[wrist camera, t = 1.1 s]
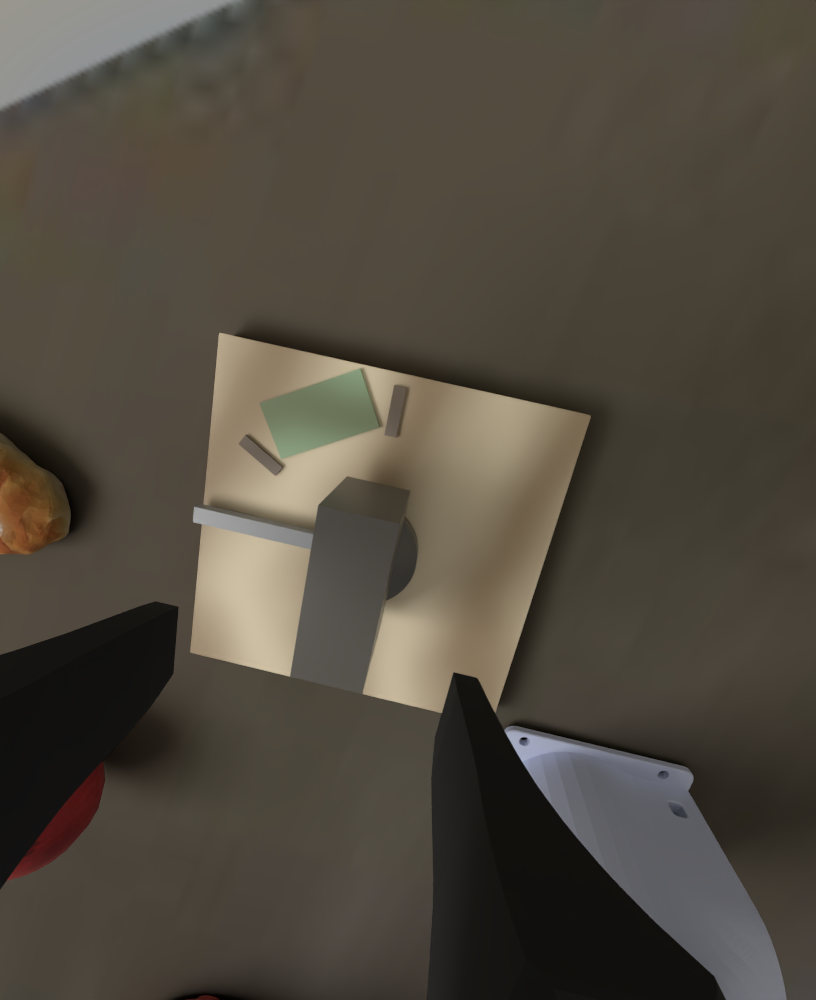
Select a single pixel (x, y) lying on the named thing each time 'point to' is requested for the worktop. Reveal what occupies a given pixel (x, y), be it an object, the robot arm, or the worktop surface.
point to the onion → (64, 825)
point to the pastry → (29, 503)
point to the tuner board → (431, 511)
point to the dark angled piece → (340, 574)
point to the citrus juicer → (205, 998)
